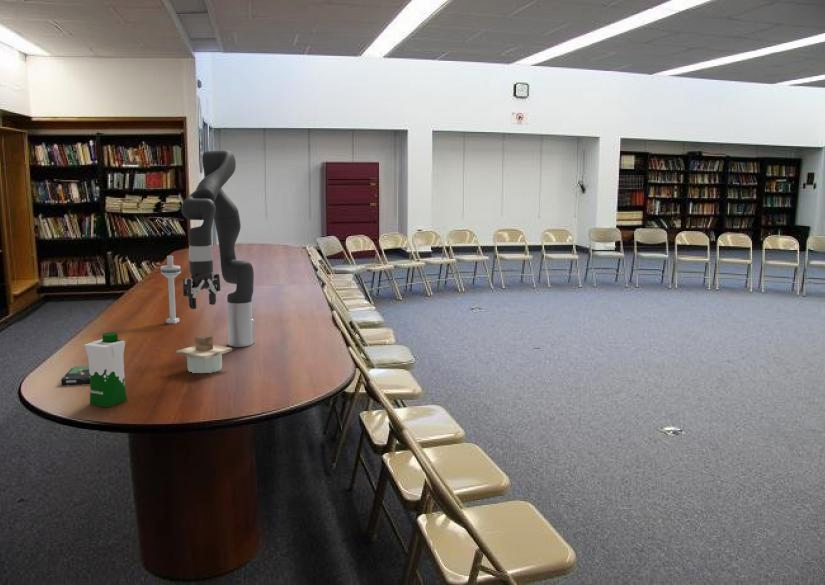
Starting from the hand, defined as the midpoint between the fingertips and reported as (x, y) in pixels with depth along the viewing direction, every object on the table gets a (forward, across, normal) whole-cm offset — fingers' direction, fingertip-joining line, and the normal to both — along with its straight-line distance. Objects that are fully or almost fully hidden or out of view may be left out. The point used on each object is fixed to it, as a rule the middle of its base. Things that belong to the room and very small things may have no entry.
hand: (202, 306), depth 225 cm
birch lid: (+16, 0, 0) cm, 16 cm away
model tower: (+22, -45, -67) cm, 84 cm away
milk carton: (+22, +39, +2) cm, 45 cm away
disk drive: (+22, +28, -25) cm, 44 cm away
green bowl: (+22, 0, 0) cm, 22 cm away
